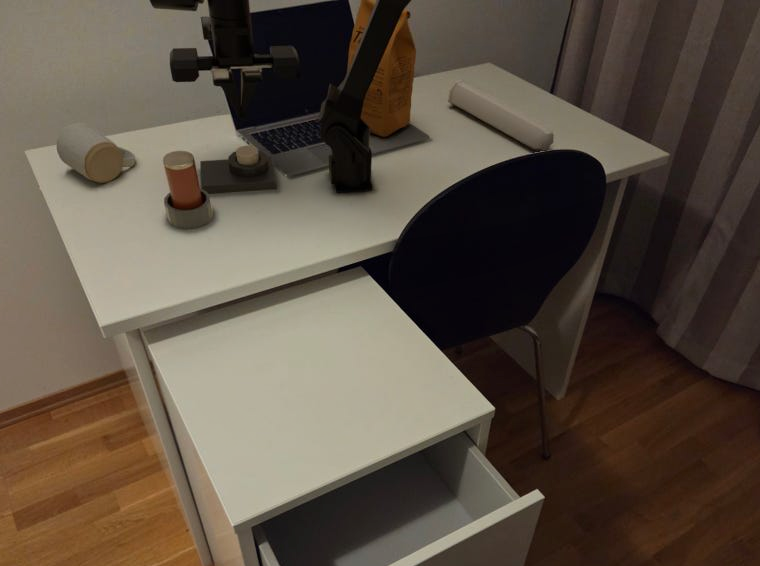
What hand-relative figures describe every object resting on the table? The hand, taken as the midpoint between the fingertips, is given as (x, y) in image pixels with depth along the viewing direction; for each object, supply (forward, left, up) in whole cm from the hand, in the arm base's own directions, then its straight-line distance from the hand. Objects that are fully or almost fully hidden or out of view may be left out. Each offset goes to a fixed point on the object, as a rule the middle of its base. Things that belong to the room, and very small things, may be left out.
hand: (242, 117), depth 102 cm
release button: (0, 0, -8) cm, 7 cm away
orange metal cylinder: (+10, +11, -10) cm, 18 cm away
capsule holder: (+10, +11, -11) cm, 18 cm away
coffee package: (-26, -17, -11) cm, 33 cm away
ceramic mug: (+24, -5, -11) cm, 27 cm away
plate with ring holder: (+2, +1, -11) cm, 11 cm away
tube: (-50, -12, -11) cm, 53 cm away
